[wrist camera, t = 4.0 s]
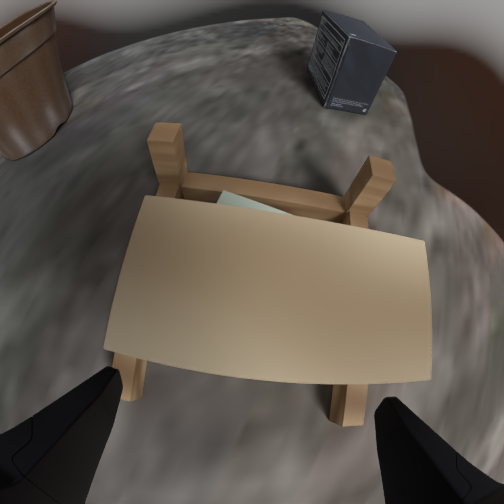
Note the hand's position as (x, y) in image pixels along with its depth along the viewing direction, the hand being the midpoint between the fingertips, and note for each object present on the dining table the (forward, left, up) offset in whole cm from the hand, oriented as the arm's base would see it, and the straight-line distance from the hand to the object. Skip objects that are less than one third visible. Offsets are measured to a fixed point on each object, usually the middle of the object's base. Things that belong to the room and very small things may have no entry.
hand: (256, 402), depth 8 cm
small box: (+26, -24, -10) cm, 37 cm away
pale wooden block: (+2, -1, -10) cm, 10 cm away
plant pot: (+35, +16, -10) cm, 40 cm away
